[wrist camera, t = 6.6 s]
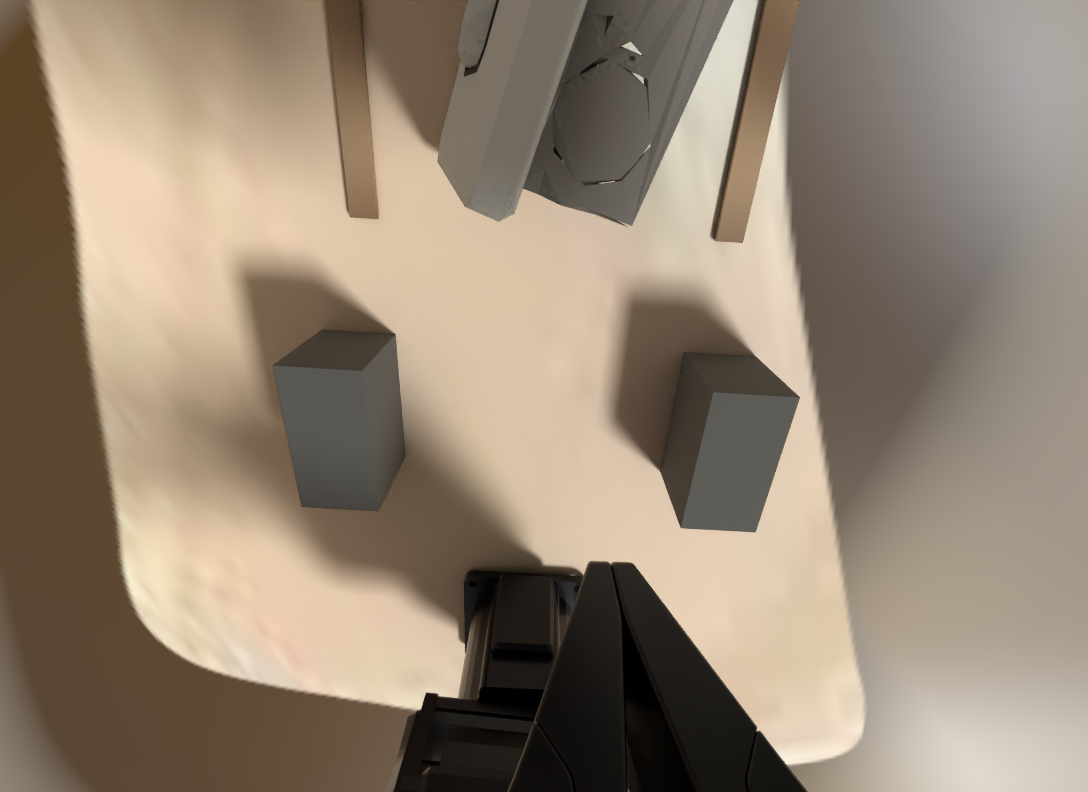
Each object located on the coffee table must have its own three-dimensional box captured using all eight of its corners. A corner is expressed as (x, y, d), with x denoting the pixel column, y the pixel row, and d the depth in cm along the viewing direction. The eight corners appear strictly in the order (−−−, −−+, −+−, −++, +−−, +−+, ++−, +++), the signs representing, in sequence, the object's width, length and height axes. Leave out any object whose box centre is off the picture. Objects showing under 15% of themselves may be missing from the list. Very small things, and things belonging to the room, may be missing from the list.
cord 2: (405, 455, 22) (378, 510, 19) (341, 451, 22) (301, 506, 19) (396, 333, 20) (361, 370, 16) (323, 328, 20) (272, 365, 16)
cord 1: (722, 473, 22) (755, 532, 19) (659, 470, 22) (680, 528, 19) (754, 355, 20) (799, 397, 16) (683, 351, 20) (713, 392, 16)
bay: (740, 242, 18) (774, 255, 15) (351, 216, 18) (315, 226, 15) (854, -246, 12) (939, -360, 10) (295, -291, 12) (222, -423, 9)
